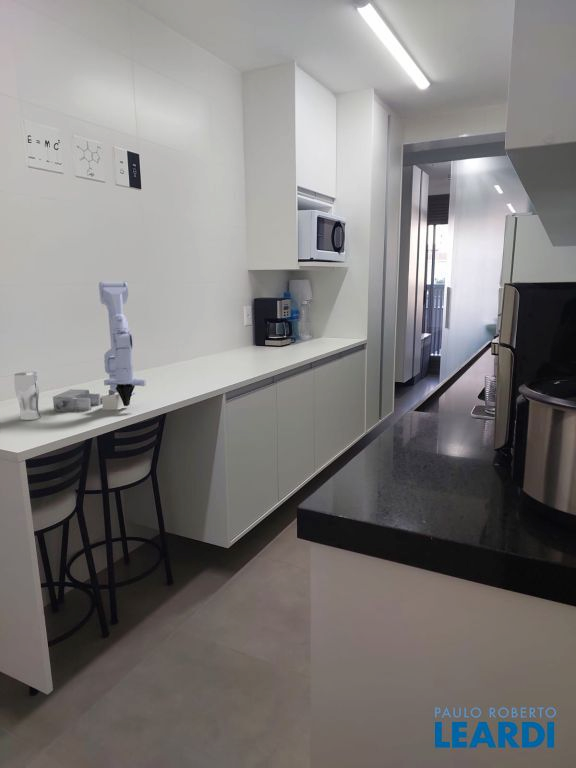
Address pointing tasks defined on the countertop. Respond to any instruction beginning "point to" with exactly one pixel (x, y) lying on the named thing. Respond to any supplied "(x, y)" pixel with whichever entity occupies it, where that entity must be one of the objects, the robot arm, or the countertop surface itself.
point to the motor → (75, 400)
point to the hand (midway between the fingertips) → (126, 405)
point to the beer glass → (27, 395)
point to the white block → (111, 400)
